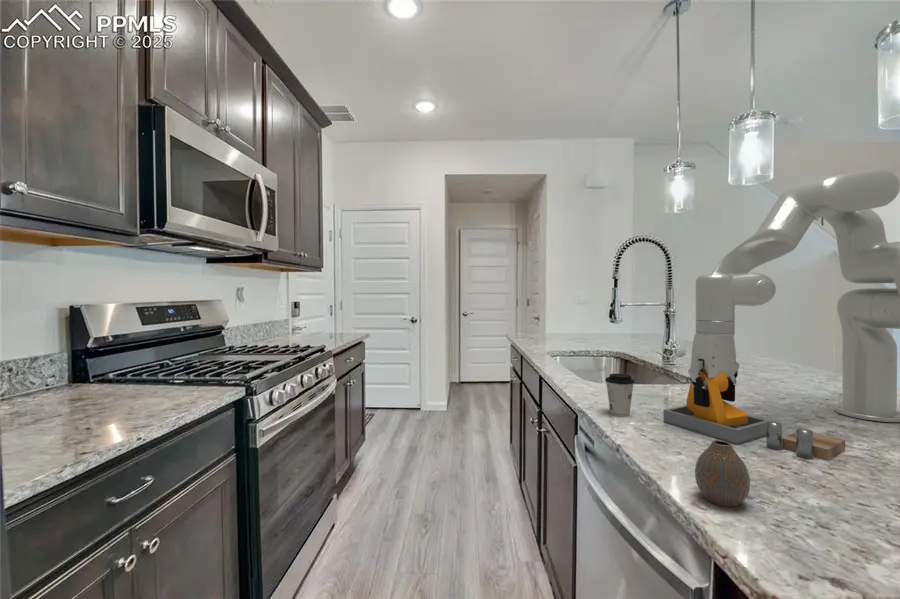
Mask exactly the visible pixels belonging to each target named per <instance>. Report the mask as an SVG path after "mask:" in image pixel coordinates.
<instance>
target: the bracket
mask: <svg viewBox="0 0 900 599" xmlns="http://www.w3.org/2000/svg"><path fill="white" fill-rule="evenodd" d="M698 373H699V374H700V375H701V376H702V377H701V378H702V379H701V380H702V381H703V382H704V380H705V379H706V380H707V375H708V373H706V371H705V370H700V371H699V372H698ZM727 388H728V379H727V376H726V374H725V373H724V371H723V372H721V373H720V374H719V375H718V376H716V378H715V379H709V378H708V380H707V389H708V390H709V407H703V406H699V405H695V404H694V387H693V386H692V382H691V381H690V384H689V389H688V392H687V398H686V405H687V409H689V410H691V411H692V412H694V416H695V417H696V418H699V419H703V420H706V421H710V422H714V423H717V424H721V425H725V426H735V425H741V424H747V423H748V416H749V415H748V413H747V412H745V411H743V410H741V409H740V408H737V407H735V406H734V405H732V404H730V403H728V402H727V401H726V400H722V398H721V394H720V392H723V391H726V390H727Z"/></svg>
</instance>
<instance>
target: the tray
mask: <svg viewBox="0 0 900 599" xmlns="http://www.w3.org/2000/svg"><path fill="white" fill-rule="evenodd" d="M767 421H770V420H768V419H763V418H760V417H756V416H752V415H748V423H747V424H741V425H735V426H725V425H721V424H717V423H714V422H710V421H706V420H703V419H699V418H696V417H695V416H694V412H692V411H691V410H689V409H687V404H685V405H681V406H675V407H671V408H666V409H663V423H664V424H668V425H671V426H676V427H678V428H681V429H683V430H684V429H685V430H688V431H691V432H694V433H698V434H700V435H705V436H708V437H711V438H713V439H716V440H722V441H726V442H729V443H730V444H732V445H733V444H734V445H737V446H738V445H742V444H746V443H748V442H752V441H756V440H758V439H762V438H767Z"/></svg>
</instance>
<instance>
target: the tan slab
mask: <svg viewBox="0 0 900 599" xmlns="http://www.w3.org/2000/svg"><path fill="white" fill-rule="evenodd" d="M781 450H785V451H790V452H794V453H796V431H795V432H793V433H791V434H789V435H787V436H784V437H782V449H781ZM845 451H846V440H845V439H842V438H839V437H834V436H829V435H825V434H819V433H816V432H813V458H817V459H820V460H824V461H828V462H829V461H830V460H833V458H835V457H837V456H839V455H840V454H842V453H843V452H845Z"/></svg>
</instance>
